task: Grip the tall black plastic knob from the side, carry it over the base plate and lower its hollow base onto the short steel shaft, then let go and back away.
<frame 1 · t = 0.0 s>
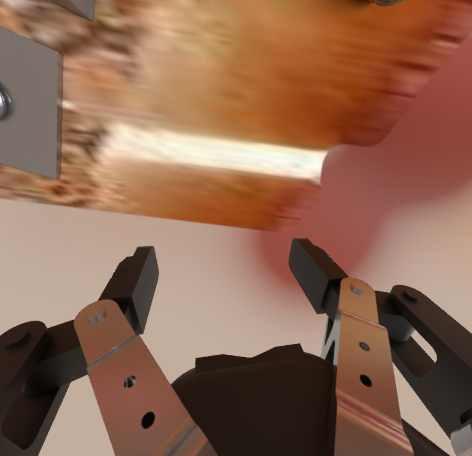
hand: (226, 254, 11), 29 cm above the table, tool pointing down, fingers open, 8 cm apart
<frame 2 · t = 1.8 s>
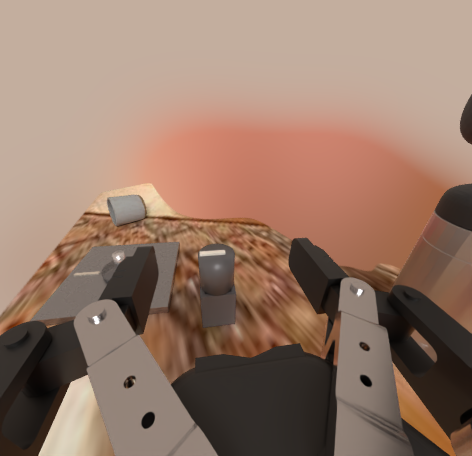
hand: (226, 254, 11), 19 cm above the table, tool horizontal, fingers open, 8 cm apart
ceramic mug: (128, 220, 57), on the table
knob: (217, 312, 30), on the table
base plate: (125, 276, 36), on the table
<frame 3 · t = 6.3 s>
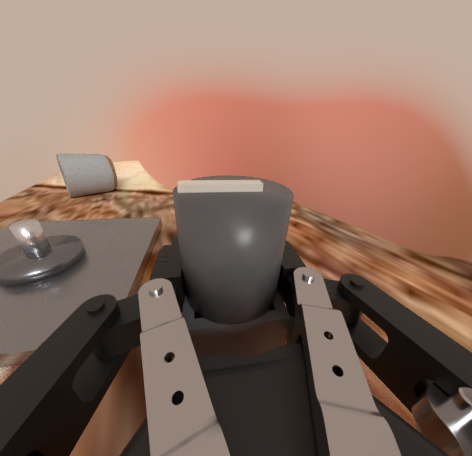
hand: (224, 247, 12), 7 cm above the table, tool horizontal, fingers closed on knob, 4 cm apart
ceramic mug: (92, 192, 41), on the table
knob: (228, 352, 13), on the table, touching gripper
base plate: (49, 271, 19), on the table
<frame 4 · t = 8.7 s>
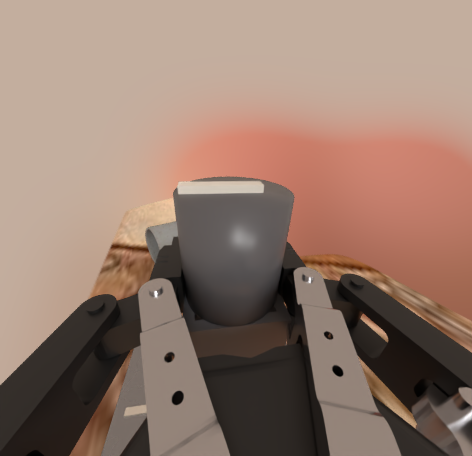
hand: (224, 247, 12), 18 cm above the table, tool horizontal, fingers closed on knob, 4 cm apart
ceramic mug: (170, 254, 41), on the table
knob: (229, 353, 13), point 11 cm above the table, touching gripper
base plate: (214, 404, 20), on the table
when the fingers open (10 cm above the table, at t = 11.2 s): knob drops 1 cm, resting on base plate.
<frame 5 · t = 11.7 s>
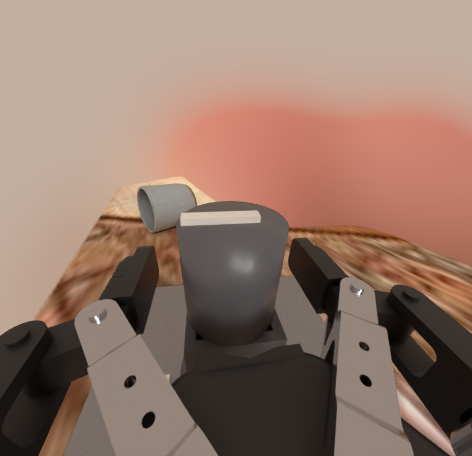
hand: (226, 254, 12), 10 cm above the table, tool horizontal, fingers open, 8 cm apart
ceramic mug: (166, 223, 37), on the table
knob: (228, 365, 13), point 2 cm above the table, touching base plate
base plate: (227, 380, 15), on the table
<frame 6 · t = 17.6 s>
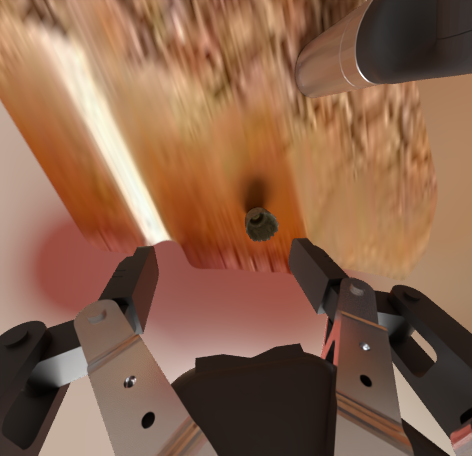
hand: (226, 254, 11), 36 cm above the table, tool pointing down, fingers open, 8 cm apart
cup: (254, 213, 51), on the table
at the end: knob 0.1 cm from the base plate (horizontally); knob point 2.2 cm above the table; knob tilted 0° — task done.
